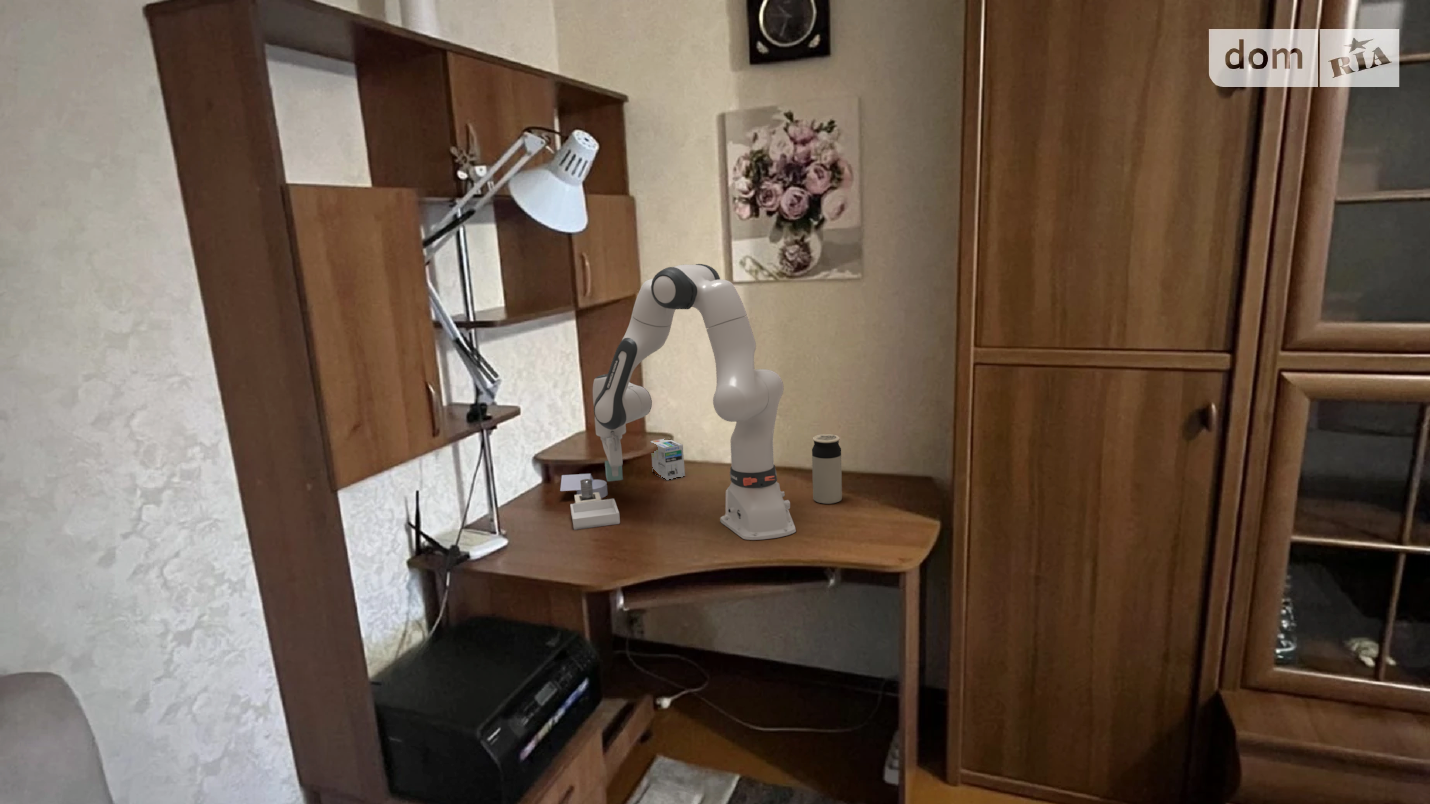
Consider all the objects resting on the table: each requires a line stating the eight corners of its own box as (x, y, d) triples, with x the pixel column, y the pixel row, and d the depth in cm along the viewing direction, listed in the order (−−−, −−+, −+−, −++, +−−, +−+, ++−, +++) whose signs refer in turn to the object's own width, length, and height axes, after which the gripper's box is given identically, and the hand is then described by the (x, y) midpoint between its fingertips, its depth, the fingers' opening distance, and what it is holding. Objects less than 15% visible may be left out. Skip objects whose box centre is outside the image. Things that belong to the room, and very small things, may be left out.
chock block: (622, 479, 229) (621, 463, 228) (607, 481, 228) (606, 465, 227) (620, 475, 233) (619, 459, 232) (606, 476, 232) (604, 460, 231)
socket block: (602, 509, 218) (601, 499, 218) (576, 513, 217) (575, 503, 216) (599, 501, 225) (598, 492, 224) (575, 505, 223) (574, 495, 223)
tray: (620, 523, 207) (619, 513, 206) (573, 529, 204) (572, 519, 204) (614, 508, 219) (614, 498, 218) (571, 514, 216) (570, 504, 215)
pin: (594, 508, 220) (592, 481, 218) (583, 510, 219) (580, 483, 217) (593, 504, 223) (591, 478, 221) (582, 506, 222) (579, 479, 220)
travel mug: (847, 501, 215) (846, 438, 211) (822, 506, 212) (820, 443, 208) (832, 493, 222) (831, 432, 218) (808, 497, 219) (806, 436, 215)
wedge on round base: (561, 501, 227) (605, 499, 227) (559, 480, 225) (603, 477, 226) (566, 491, 236) (609, 489, 236) (564, 470, 234) (607, 468, 234)
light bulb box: (685, 477, 244) (683, 443, 241) (666, 481, 241) (664, 447, 238) (670, 469, 253) (668, 437, 251) (651, 473, 250) (649, 440, 247)
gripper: (625, 435, 218) (629, 482, 221) (617, 418, 237) (620, 462, 240) (603, 437, 216) (607, 484, 219) (596, 420, 236) (600, 464, 239)
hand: (614, 472), depth 230 cm, fingers closed on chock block, 4 cm apart
